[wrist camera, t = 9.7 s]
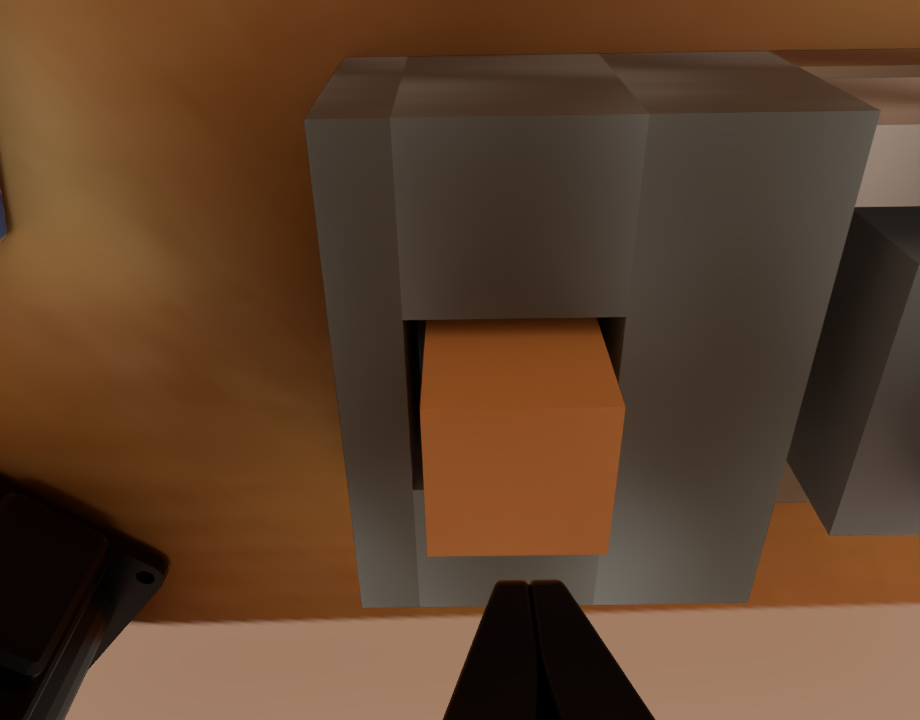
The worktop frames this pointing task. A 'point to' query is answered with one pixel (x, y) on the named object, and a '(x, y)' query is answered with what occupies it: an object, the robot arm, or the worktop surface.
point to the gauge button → (519, 437)
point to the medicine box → (2, 220)
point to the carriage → (866, 384)
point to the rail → (601, 278)
